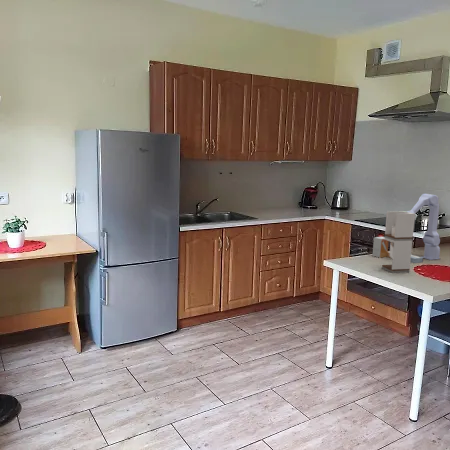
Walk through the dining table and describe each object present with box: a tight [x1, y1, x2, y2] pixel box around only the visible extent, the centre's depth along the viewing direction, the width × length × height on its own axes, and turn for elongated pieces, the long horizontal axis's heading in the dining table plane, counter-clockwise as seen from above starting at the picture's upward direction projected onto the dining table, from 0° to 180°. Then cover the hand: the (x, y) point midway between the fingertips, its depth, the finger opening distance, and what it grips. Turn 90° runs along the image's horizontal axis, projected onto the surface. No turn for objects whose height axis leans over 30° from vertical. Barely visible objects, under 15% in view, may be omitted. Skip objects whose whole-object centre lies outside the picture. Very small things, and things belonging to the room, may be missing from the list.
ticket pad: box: [410, 254, 424, 264], centre depth 286 cm, size 7×13×3 cm, turn 22°
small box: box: [371, 236, 390, 259], centre depth 295 cm, size 8×6×13 cm
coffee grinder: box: [381, 210, 416, 274], centre depth 258 cm, size 11×11×35 cm
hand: (398, 257), depth 287 cm, fingers closed
